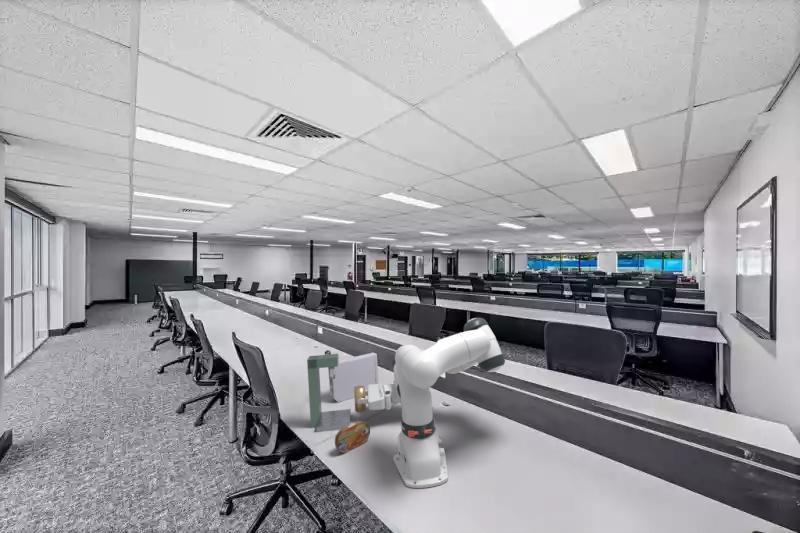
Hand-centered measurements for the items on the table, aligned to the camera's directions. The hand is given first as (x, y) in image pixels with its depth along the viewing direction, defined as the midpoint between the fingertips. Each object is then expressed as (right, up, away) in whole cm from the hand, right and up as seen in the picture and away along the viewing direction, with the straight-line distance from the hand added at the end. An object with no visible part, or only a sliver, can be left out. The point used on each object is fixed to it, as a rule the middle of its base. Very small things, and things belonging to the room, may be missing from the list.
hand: (357, 397), depth 141 cm
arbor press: (-12, -11, +2) cm, 16 cm away
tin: (+1, -10, -21) cm, 23 cm away
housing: (+1, -5, 0) cm, 6 cm away
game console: (-5, -10, +28) cm, 30 cm away
